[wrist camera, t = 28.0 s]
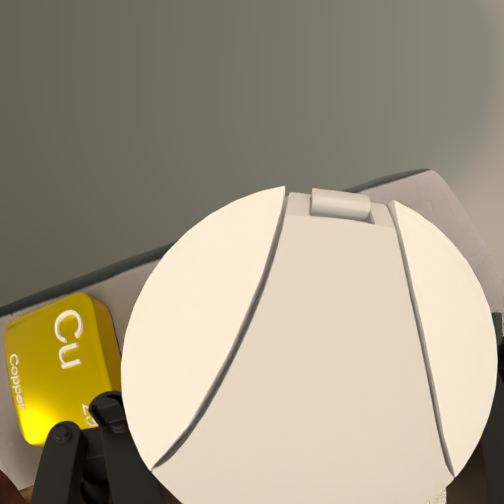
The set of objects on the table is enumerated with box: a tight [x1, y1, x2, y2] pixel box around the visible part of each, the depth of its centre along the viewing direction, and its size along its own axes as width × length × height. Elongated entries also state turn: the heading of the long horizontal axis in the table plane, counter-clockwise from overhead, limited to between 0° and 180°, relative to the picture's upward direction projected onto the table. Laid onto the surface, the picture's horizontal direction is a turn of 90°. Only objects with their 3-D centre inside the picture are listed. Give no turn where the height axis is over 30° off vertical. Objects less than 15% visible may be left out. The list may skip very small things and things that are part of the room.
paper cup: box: [121, 186, 498, 504], centre depth 10 cm, size 8×8×14 cm
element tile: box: [4, 293, 122, 446], centre depth 23 cm, size 15×15×5 cm
